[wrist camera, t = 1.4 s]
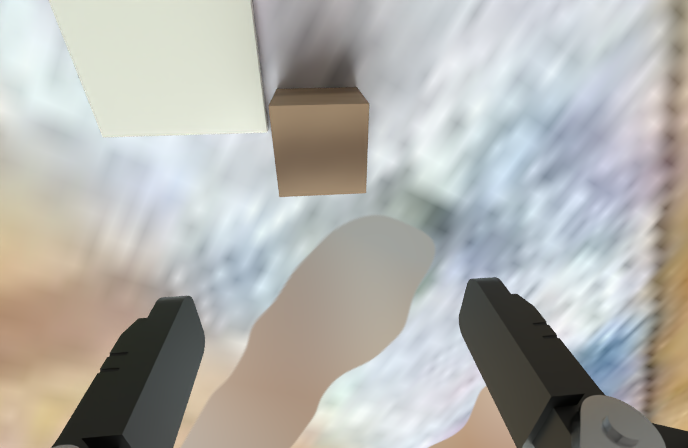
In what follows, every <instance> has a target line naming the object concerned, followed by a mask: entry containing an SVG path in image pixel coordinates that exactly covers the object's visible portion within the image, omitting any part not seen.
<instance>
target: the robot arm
mask: <svg viewBox="0 0 688 448" xmlns="http://www.w3.org/2000/svg"><path fill="white" fill-rule="evenodd" d="M459 326H460V331H461V334H462V336H463V338H464V340H465V342H466V344H467V347H468V349H469V351H470V353H471V355H472V357H473V359H474V361H475V363H476V365H477V367H478V369H479V371H480V373H481V375H482V377H483V379H484V381H485V383H486V385H487V387H488V390H489V392H490V394H491V396H492V398H493V399H494V401H495V404H496V406H497V408H498V410H499V412H500V414H501V416H502V418H503V420H504V422H505V424H506V426H507V428H508V430H509V432H510V435H511V437H512V439H513V440H514V443H515V445H516V447H517V448H688V431H684V430H680V429H675V428H671V427H666V426H662V425H658V424H654V423H651V422H650V421H649V420H648V419H647V418H646V417H645V416H644V415H643V414H641V413H640V412H639V411H637V410H636V409H635V408H633V407H632V406H630V405H628V404H627V403H625V402H623V401H621V400H618V399H616V398H613V397H609V396H606V395H605V394H604V393H603V392H602V391H601V390H600V389H599V387H598V386H597V385H596V384H595V382H594V381H593V380H592V379H591V377H590V376H589V375H588V374H587V372H586V371H585V370H584V369H583V367H582V366H581V365H580V364H579V362H578V361H577V360H576V358H575V357H574V356H573V355H572V353H571V352H570V351H569V350H568V348H567V347H566V346H565V345H564V343H563V342H562V341H561V340H560V338H557V335H556V333H555V332H554V331H553V329H552V328H551V327H550V326H549V325H547V324H546V321H545V319H544V318H543V317H542V316H541V314H540V313H539V312H538V311H537V309H536V308H535V307H534V306H533V305H532V304H530V303H529V302H527V301H526V300H525V299H523V298H522V297H521V296H519V295H518V294H511V293H510V292H509V291H508V289H507V288H506V287H505V285H504V284H503V283H502V281H501V280H500V279H498V278H496V277H493V278H477V279H470V280H469V281H468V283H467V287H466V290H465V294H464V298H463V302H462V306H461V310H460V314H459ZM204 347H205V336H204V331H203V328H202V325H201V322H200V319H199V316H198V313H197V310H196V307H195V304H194V301H193V299H192V297H190V296H178V297H163V298H160V299H158V300H157V302H156V303H155V305H154V307H153V309H152V310H151V312H150V314H149V316H148V318H139V319H138V320H136V321H135V322H134V323H133V324H132V325H131V326H130V327H129V328H128V329H127V330H126V331H124V332H123V333H122V334H121V336H120V337H119V339H118V340H117V342H116V344H115V345H114V347H113V349H112V350H111V352H110V356H109V357H107V359H106V360H105V362H104V364H103V365H102V367H101V368H100V373H97V375H96V377H95V378H94V380H93V382H92V383H91V385H90V387H89V388H88V390H87V392H86V393H85V395H84V396H83V398H82V400H81V401H80V403H79V405H78V406H77V408H76V410H75V411H74V413H73V415H72V416H71V418H70V420H69V421H68V423H67V424H66V426H65V428H64V429H63V431H62V433H61V434H60V436H59V438H58V439H57V440H56V442H55V443H54V445H53V446H52V447H51V448H173V446H174V443H175V440H176V437H177V434H178V431H179V428H180V425H181V422H182V418H183V415H184V412H185V409H186V406H187V403H188V400H189V397H190V394H191V391H192V387H193V384H194V381H195V378H196V375H197V372H198V369H199V366H200V363H201V360H202V356H203V353H204Z"/></svg>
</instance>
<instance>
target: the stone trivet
mask: <svg viewBox="0 0 688 448" xmlns="http://www.w3.org/2000/svg"><path fill="white" fill-rule="evenodd" d="M49 3H50V5H51V8H52V10H53V13H54V15H55V18H56V20H57V23H58V25H59V28H60V30H61V33H62V35H63V38H64V40H65V43H66V45H67V48H68V51H69V53H70V56H71V58H72V61H73V63H74V66H75V68H76V71H77V73H78V76H79V78H80V81H81V83H82V86H83V88H84V91H85V93H86V96H87V98H88V101H89V104H90V106H91V109H92V111H93V114H94V116H95V119H96V121H97V124H98V126H99V129H100V131H101V134H102V136H103V137H134V136H169V135H203V134H238V133H267V132H268V124H267V116H266V108H265V100H264V92H263V84H262V76H261V68H260V60H259V52H258V44H257V36H256V28H255V20H254V12H253V4H252V0H49Z"/></svg>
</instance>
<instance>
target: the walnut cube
mask: <svg viewBox="0 0 688 448" xmlns="http://www.w3.org/2000/svg"><path fill="white" fill-rule="evenodd" d="M269 115H270V123H271V131H272V139H273V148H274V156H275V164H276V173H277V181H278V189H279V197H289V196H311V195H334V194H357V193H366V178H367V150H368V121H369V103H368V101H367V100H366V99H365V97H364V96H363V95H362V93H361V92H360V91H359V89H358V88H357V87H343V88H291V89H277V90H276V92H275V94H274V96H273V98H272V100H271V102H270V104H269Z"/></svg>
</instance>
